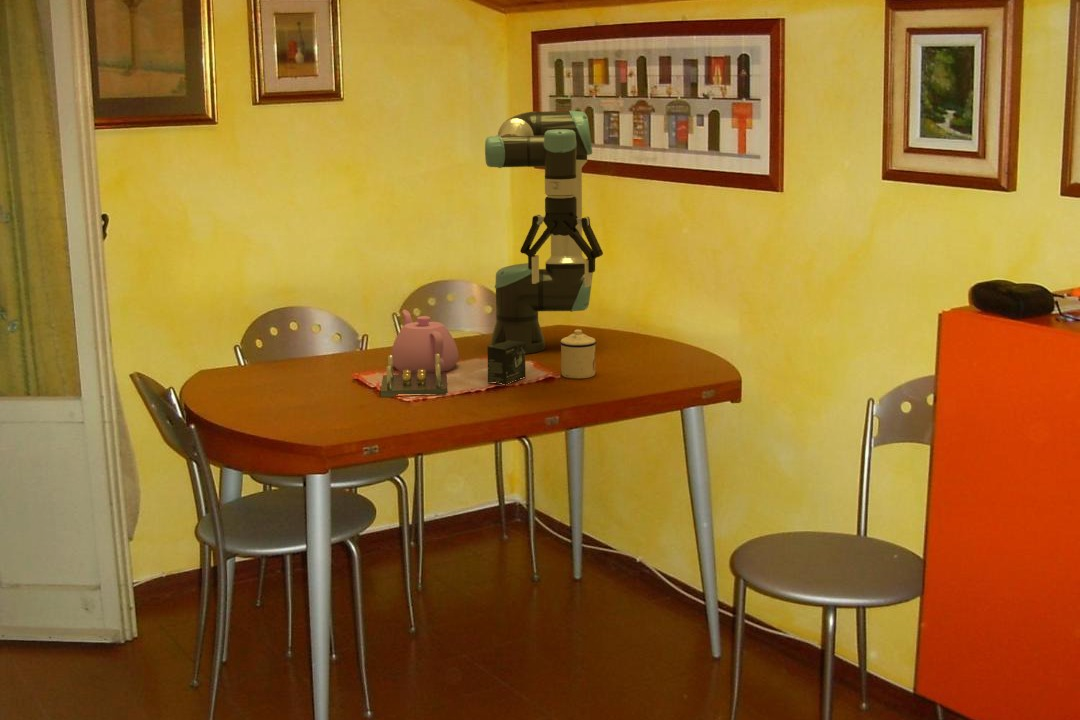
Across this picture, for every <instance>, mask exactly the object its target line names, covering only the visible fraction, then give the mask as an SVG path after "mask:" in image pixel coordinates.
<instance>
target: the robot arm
mask: <svg viewBox="0 0 1080 720" xmlns="http://www.w3.org/2000/svg"><path fill="white" fill-rule="evenodd" d="M590 131H591V130H590V124H589V117H588V115H587V113H585V112H584V111H580V110H579V111H578V110H561V111H560V110H556V111H554V110H553V111H550V110H549V111H548V110H547V111H527V112H523V113H520V114H517V115H514V116H512V117H510V118H508V119H506V120H505V121H504V122H503V123H501V125H500V127H499V128H498V132H497V135H493V136H487V137H486V139H485V142H484V143H485V144H484V158H485V165H486V166H487V167H488V168H489V167H490V168H498V169H502V168H523V167H524V168H544V194H545V195H546V196H545V198H544V212H545V213H544V214H545V215H544V216H541V215H540V214H536V215H533V216H532V219H531V220H532V221H531V226H530V228H529V230H528V233H527V235H526V236H525V240H524V241H523V243H522V246H521V248H520V254H524V255H526V256H527V263H524V262H523V263H518V264H517V263H516V264H512V265H508V266H504V267H501V268H500V269H498V270H497V272H496V274H495V284H494V288H495V318H496V319H495V320H496V321H495V325H494V328H493V331H492V336H491V338H490V341H489V343H490V346H493V345H496V344H499V343H502V342H506V341H508V340H511V341H518V342H525V355H526V354H527V355H528V354H533V353H539V352H541V351H544V350H545V349H546V339H545V336H544V334H543V330H542V329H541V328H542V327H541V324H540V322H539V312H570V313H573V312H581V311H586V310H587V309H588V307H589V304H590V299H591V291H592V285H593V276H594V274H593V273H595V271H596V259H597V258H599V257H602V256H603V254H604V252H603V249H602V248H601V245H600V243H599V242H598V239H597V236H596V235H595V233H594V231H593V229H592V226H591V219H590V216H584V217H583V187H582V186H583V179H582V178H583V176H582V175H583V173H582V172H583V171H582V169H583V167H584V165H586V163H587V162H588V156H590V155H592V154H593V147H592V137H591V132H590ZM543 223H544V224H545V226H546V228H545V230H544V231H543V232H542V234H541V235H540V236H539V238H538V239H537V241H535V242H534V244H533V241H534V239H535V238H536V235H537V234H538V231H539V229H540V227H541V225H542V224H543ZM583 233H584V235H585V238H586V239H587V241H586V240H585V239H584V237H583ZM549 238H550V257H549V258H547V260H546V261H545V268H540V259H539V258H540V256H539V255H537V253H538V251H539V250H540V249H541V248H542V247H543V245H544V244H545V243H546V241H548V239H549ZM587 242H588V243H587ZM532 244H533V245H532ZM583 254H584V255H585V256H586V258H585V257H584V256H583Z"/></svg>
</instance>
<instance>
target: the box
mask: <svg viewBox="0 0 1080 720" xmlns="http://www.w3.org/2000/svg"><path fill="white" fill-rule="evenodd" d="M523 377H525V378H526V354H525V342H518V341H511V340H508V341H506V342H502V343H499V344H496V345H493V346H491V345H490V346H487V383H488V382H496V383H502V384H505V385H504V386H507V385H506V384H508V383H510V382H512V381H515V380H518V379H520V378H523ZM518 381H519V380H518ZM510 384H511V383H510ZM508 385H509V384H508Z"/></svg>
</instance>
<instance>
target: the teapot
mask: <svg viewBox="0 0 1080 720" xmlns="http://www.w3.org/2000/svg"><path fill="white" fill-rule="evenodd" d="M402 316H403V326H402V327H401V329H400V330H399V332H398V334H397V335H396V337H395V339H394V341H393V345H392V347H391V352H390V355H393V367H394V368H395V369H396V370H398V371H399V372H400V373H403V370H411V374H417V373H418V370H419V369H425V370H426V374H435V373H436V367H435V365H436V360H435V354H437V353H439V354H440V366H441V373H447V372H448V371H451V370H452V369H453V368H454V367H455V366H456V365H457V363H458V361H459V359H460V356H459V355H460V354H459V350H458V348H457V347H458V346H457V343H456V341H455V339H454V337H453V336H452V334H451V332H450V331H449V329H448V328H447V326H445V324H443V323H442V322H439V321H430V320H431V317H430V316H427V315H421V316H417V317H416V321H414V322H413V318H412V316H411V313H410V311H408V310H407V309H403V310H402Z"/></svg>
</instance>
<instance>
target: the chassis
mask: <svg viewBox="0 0 1080 720" xmlns="http://www.w3.org/2000/svg"><path fill="white" fill-rule="evenodd" d="M435 360H436V365H435V367H436V373H435V374H426V370H425V369H419V370H418V373H417V374H411V370H403V372H402V374H394V365H393V355H391V354H389V355H387V365H386V367H385V368H386V374H383V375H382V380H381V387H380V398H392V397H393V398H394V397H395V396H396V395H398V394H446V393H448V376H447V375H448V374H447V372H442V373H441V366H440V354H439V353H437V354H435Z"/></svg>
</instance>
